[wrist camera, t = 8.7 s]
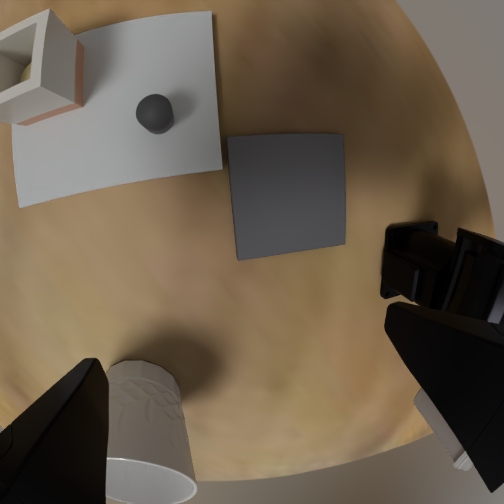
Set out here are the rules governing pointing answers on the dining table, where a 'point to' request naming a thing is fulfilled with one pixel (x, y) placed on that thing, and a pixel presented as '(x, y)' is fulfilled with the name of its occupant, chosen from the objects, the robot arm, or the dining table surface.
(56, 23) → the sleeve
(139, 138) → the pin board
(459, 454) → the coffee cup
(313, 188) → the mat
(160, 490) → the white cup
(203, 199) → the dining table surface
